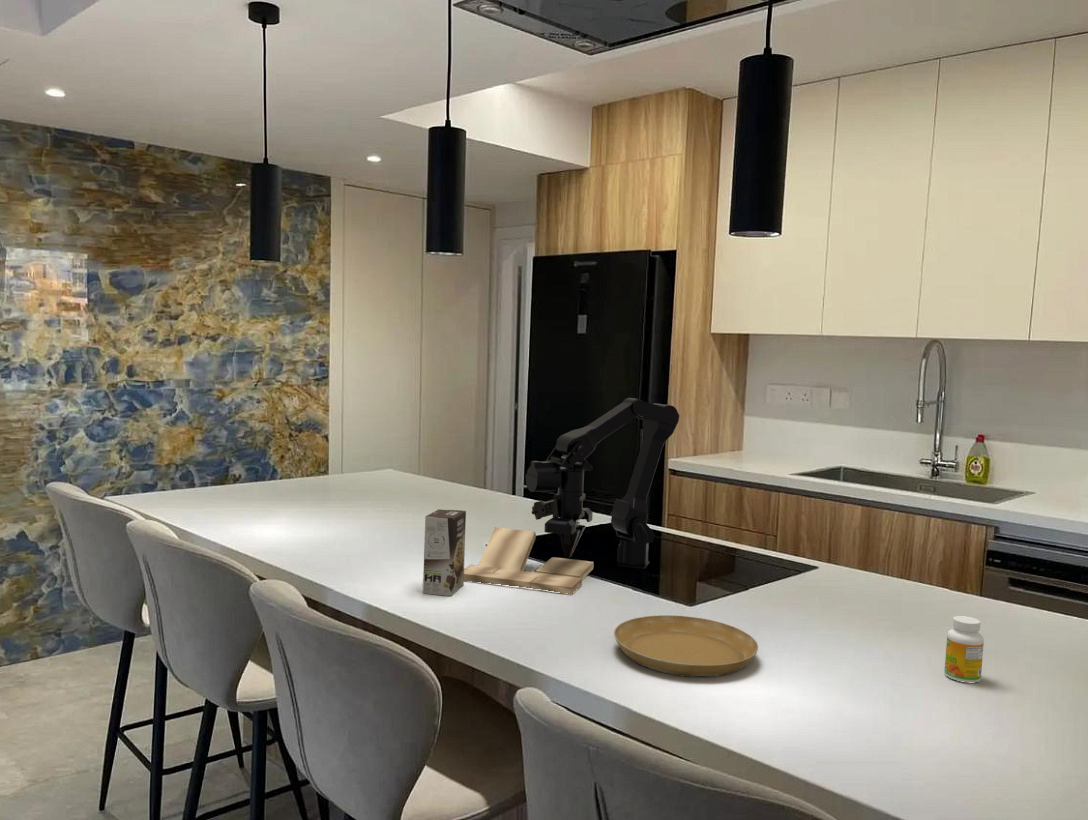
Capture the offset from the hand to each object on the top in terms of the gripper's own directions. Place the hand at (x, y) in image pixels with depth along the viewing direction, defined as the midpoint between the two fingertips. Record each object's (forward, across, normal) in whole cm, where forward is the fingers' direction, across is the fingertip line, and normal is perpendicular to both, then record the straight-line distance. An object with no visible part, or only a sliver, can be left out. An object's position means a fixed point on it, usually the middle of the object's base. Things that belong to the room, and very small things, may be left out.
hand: (567, 557), depth 198 cm
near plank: (+3, +2, 0) cm, 4 cm away
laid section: (+3, +14, -7) cm, 16 cm away
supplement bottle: (+4, +35, +78) cm, 85 cm away
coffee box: (+4, +25, -19) cm, 32 cm away
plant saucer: (+4, +43, +34) cm, 55 cm away
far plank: (0, +3, -13) cm, 14 cm away
